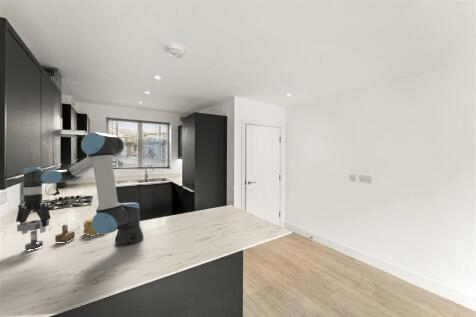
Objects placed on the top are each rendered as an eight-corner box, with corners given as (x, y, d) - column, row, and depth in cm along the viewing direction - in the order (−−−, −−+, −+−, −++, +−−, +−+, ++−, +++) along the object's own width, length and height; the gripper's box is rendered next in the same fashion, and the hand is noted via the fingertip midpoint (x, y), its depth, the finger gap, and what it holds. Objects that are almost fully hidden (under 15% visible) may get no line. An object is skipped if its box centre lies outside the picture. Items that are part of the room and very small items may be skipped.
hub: (46, 245, 116) (45, 228, 116) (34, 251, 109) (33, 233, 109) (34, 246, 115) (33, 229, 116) (21, 251, 108) (21, 233, 109)
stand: (74, 239, 125) (74, 223, 125) (66, 243, 118) (65, 226, 118) (64, 239, 124) (64, 223, 125) (55, 243, 118) (55, 227, 118)
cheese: (83, 234, 132) (82, 220, 132) (100, 229, 142) (100, 215, 142) (91, 237, 127) (90, 221, 127) (108, 231, 137) (108, 217, 137)
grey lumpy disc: (49, 225, 117) (48, 219, 117) (34, 230, 108) (34, 224, 108) (32, 226, 116) (32, 220, 116) (17, 231, 107) (17, 225, 107)
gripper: (58, 192, 117) (59, 229, 117) (19, 194, 115) (20, 231, 115) (47, 194, 110) (48, 234, 109) (5, 196, 108) (6, 236, 108)
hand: (33, 232), depth 112 cm, fingers closed on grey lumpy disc, 9 cm apart
